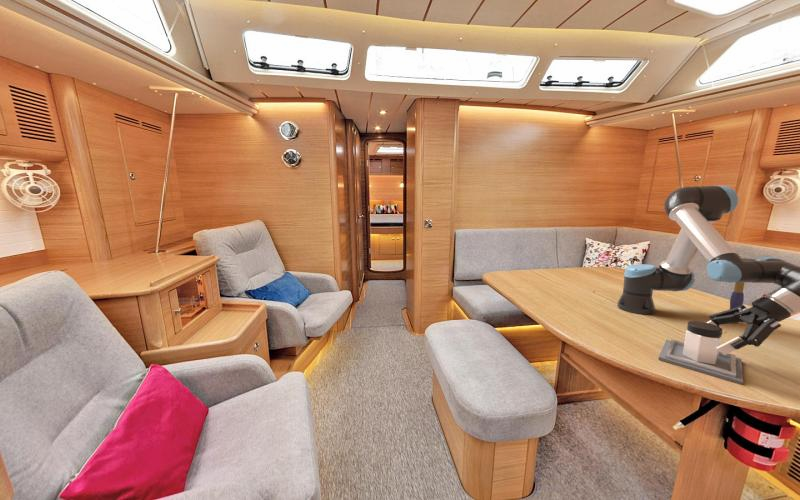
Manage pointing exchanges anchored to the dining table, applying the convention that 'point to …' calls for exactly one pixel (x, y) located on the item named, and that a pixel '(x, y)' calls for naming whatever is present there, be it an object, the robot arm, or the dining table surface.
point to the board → (721, 363)
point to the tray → (698, 364)
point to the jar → (702, 342)
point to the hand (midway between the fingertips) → (706, 341)
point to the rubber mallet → (738, 292)
